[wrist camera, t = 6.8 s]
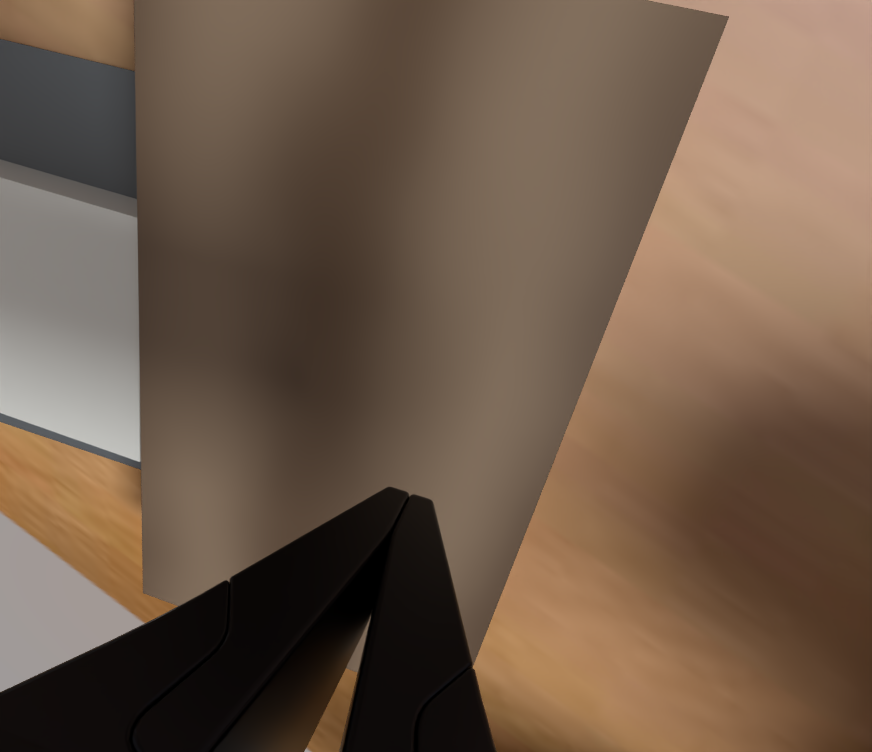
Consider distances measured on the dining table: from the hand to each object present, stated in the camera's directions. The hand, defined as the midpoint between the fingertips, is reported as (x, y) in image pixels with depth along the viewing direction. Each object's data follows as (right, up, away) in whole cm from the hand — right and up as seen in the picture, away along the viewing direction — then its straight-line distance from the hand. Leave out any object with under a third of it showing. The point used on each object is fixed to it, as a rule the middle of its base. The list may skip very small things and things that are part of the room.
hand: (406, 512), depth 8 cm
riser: (-1, +3, +6) cm, 6 cm away
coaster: (-11, +5, +6) cm, 13 cm away
